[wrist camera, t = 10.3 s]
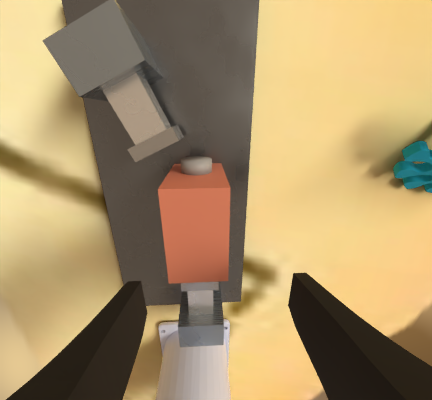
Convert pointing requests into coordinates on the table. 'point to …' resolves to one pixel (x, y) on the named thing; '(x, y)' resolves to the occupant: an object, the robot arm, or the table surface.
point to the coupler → (196, 221)
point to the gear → (415, 166)
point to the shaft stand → (165, 127)
